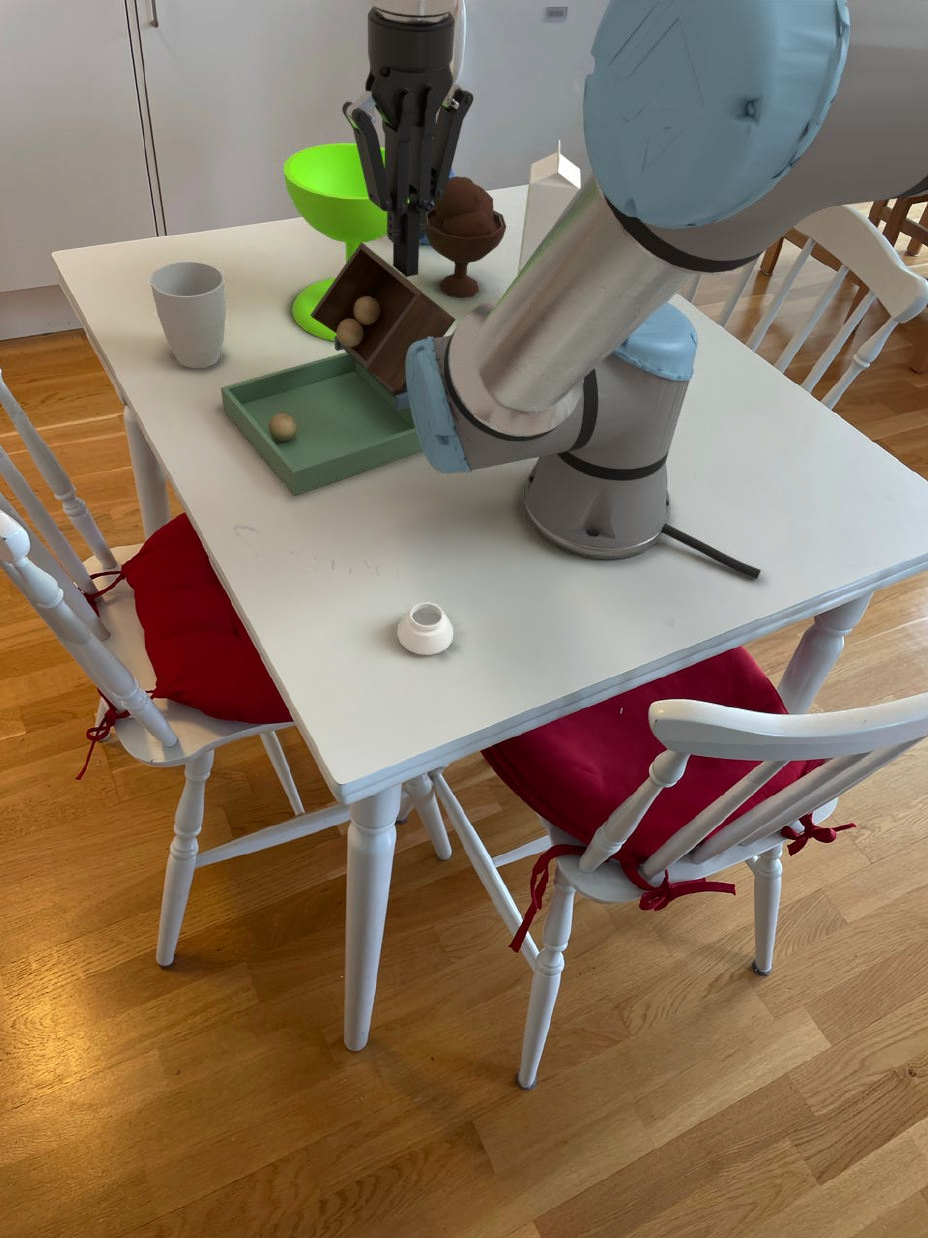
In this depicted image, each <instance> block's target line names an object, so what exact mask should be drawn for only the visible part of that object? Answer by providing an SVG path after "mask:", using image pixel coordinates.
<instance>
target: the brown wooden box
mask: <svg viewBox="0 0 928 1238" xmlns="http://www.w3.org/2000/svg"><path fill="white" fill-rule="evenodd" d="M335 278H336V279H335V280H334V282H333V283H332V284H331V286H330V287H329V289H328V290H327V292H326V293H325V294H324V296H323V297H322V299H321V300H320V302H319V303H318V304H317V306H316V307H315V309H314V310H313V312H312V313H311V315H310V316H311V317H312V318H314V319H315V320H317V321H318V322H320V323H321V324H323V325H324V326H326V327H327V328H329V329H330V330H332V331H333V332H335V333H336V334H337V327H338V325H339V324H340V323H341V322H342V321H343V320H345V319H355V320H356V318H355V316H354V313H353V307H354V304H355V302H356V301H357V300H358V299H359V298H361V297H363V296H370V297H373V298H374V299H376V300H377V301H378V303H379V305H380V308H381V314H380V317H379V319H378V320H377V321H376V322H375V323H373V324H371V325H364V324H361V323H360V324H361V325H362V327H363V329H364V337H363V340H362V342H361V343H360V344H359V345H357V346H355V347H347V346H345V345H343V344H342V343H341V342H340V341H339V340H338V337H337V338H336V339H337V340H338V341H339V342H340V346H341V347H342V348H343V350H344V352H347V353H348V354H349V355H350V356H351V357H352V358H353V359H354V360H355V361H356V362H357V363H358V364H359V365H360V366H361V367H362V368H364V369H365V370H366V371H367V372H368V373H369V374H370V375H371V376H372V377H373V378H374V379H375V380H376V381H377V382H378V383H379V384H380V385H381V386H382V387H383V388H384V389H385V390H386V391H387V392H388V393H389V394H390V395H391V396H392V397H393V398H396V395H399V394H401V393H402V391H403V390H404V389H405V387H406V386H407V383H406V370H405V367H406V355H407V351H408V349H409V347H410V346H411V345H412V344H413V343H414V342H417V341H420V340H423V339H427V337H432V336H433V337H434V338H438V337H445V336H446V334H447V332H448V331H449V329H450V328H451V327H452V325H454V323H455V321H456V318H455V317H453V315H451V314H450V313H449V312H448V311H447V310H445V309H444V308H443V307H441V305H439V304H438V303H437V302H436V301H434V300H433V299H432V298H431V297H429V296H428V295H427V293H425V292H423V291H422V290H421V288H419V287H417V286H416V285H415V284H414V283H413V282H412V281H411V280H409V279H408V278H407V277H406V276H404V275H403V274H402V273H401V272H400V271H399V270H397V269H396V268H395V267H394V266H393V265H391V264H390V263H389V262H387V261H386V260H384V258H382V257H381V256H380V255H378V254H377V253H376V252H375V251H374V250H372V249H371V248H370V247H368V246H367V245H366V244H365V243H362V242H361V243H360V244H359V246H358V247H357V249H356V250H355V252H354V253H353V254H352V256H351V257H350V259H349V260H348V262H347V263H346V262H345V265H343V267H342V269H341V270H340V272H339V273H338V275H336V277H335Z"/></svg>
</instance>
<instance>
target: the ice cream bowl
mask: <svg viewBox="0 0 928 1238" xmlns="http://www.w3.org/2000/svg"><path fill="white" fill-rule="evenodd" d="M433 202H434V207H433V209H432V211H431V212H429V213H426V236H427V238H428V241H429V243H430V244H429V245H430V246H431V247H432V248H433V249H434V250H435V251H436V252H437V253H438V254H439V255H441V256H443V257H444V258H446V259H447V260H449V261H451V262H453V263H454V270H453V273H452V274H450V275H446V276H445V277H444V278H442V279H441V280H440V282H439V289H440V292H443V293H444V294H446V295H447V296H449V297H454V298H460V299H464V298H469V297H474V296H475V295H476V294H477V293H478V292H480V289H479V284H478V281H477V280H476V279H474V278H472V277H471V276H469V275H468V265H469V264H470V263H474V262H475V263H476V262H479V261H481V260H483V258H485V257H486V256H487V255H488V254H490V253H491V252H492V251H494V250H495V249H496V248H498V246H499V245H500V244H501V242H502V240H503V239H504V236H505V232H506V229H507V224H506V221H505V218H504V215H503V214H501V213H500V212H498V211H496V210H494V198H493V197H492V196H491V195H490V194H489V193H488V191H486V190H485V189H484V188H483V187H482V186H480V185H478V184H475V183H474V181H473V180H472V179H471V178H469V177H467V176H457V175H456V176H455V175H454V177H452V178H449V180H448V184H447V188H446V192H445V195H444V197H443V198H442V199H440V200H438V199H435V200H433Z"/></svg>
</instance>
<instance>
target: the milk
mask: <svg viewBox="0 0 928 1238" xmlns="http://www.w3.org/2000/svg"><path fill="white" fill-rule="evenodd" d="M581 182H582V181H581V169H580V168H579V167H578V166H576V164H574V163H573V162H571V161H570V160H569V159H568V158H566V157H565V156H564V155H563V154H561V139H559V140H558V145H557V151H556V152H554V153H552V154H550V155H548V156H546V157H543V158H542V159H539V160H537V161H534V162H533V163H531V165H530V172H529V181H528V187H527V193H526V195H527V196H526V203H525V210H524V211H525V212H524V219H523V228H522V234H521V235H522V236H521V244H520V251H519V252H520V253H519V259H518V260H519V261H518V268H517V275H518V274H519V273H520V271H521V270H522V268H523V267H524V266H525V264H526V263H527V261H528V260H529V259H530V257H531V256H532V254H533V253H534V252H535V250H536V249H537V247H538V246H539V245H540V243H541V242H542V241H543V239H544V238H545V236H546V235H547V234H548V232H549V231H550V229H551V228H552V227H553V225H554V224H555V222H556V221H557V220H558V218H559V217H560V215H561V214H562V213H563V211H564V210H565V209H566V207H567V206H568V204H569V203H570V202H571V200H572V199H573V197H574V196H575V195H576V193H577V192H578V190H579V189H580V188H581V186H582V185H581Z"/></svg>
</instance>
